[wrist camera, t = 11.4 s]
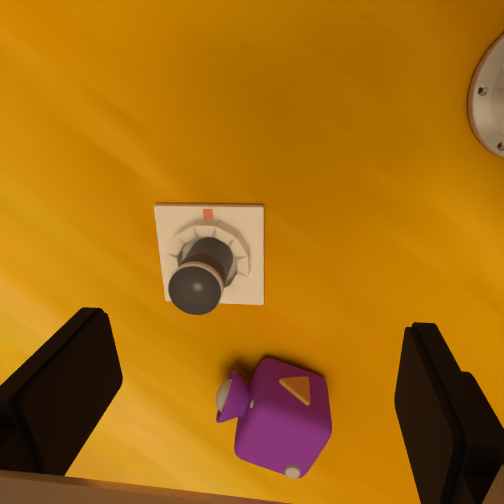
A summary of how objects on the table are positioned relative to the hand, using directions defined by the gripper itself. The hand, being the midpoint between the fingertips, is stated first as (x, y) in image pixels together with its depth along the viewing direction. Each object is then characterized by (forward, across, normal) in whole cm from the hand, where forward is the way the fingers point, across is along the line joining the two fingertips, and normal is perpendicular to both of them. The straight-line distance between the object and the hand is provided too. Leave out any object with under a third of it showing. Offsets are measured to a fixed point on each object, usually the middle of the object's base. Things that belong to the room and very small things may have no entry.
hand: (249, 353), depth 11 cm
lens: (+28, +9, +10) cm, 30 cm away
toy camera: (+29, +3, +29) cm, 41 cm away
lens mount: (+28, +9, +10) cm, 31 cm away
